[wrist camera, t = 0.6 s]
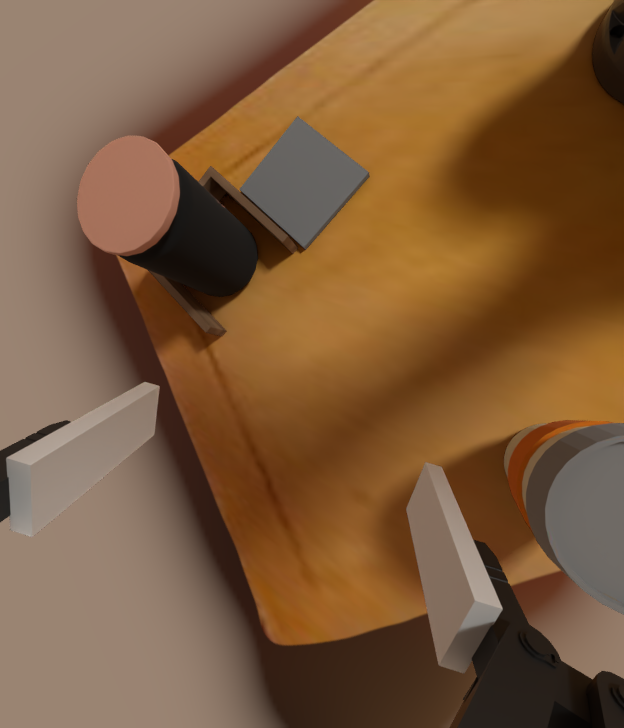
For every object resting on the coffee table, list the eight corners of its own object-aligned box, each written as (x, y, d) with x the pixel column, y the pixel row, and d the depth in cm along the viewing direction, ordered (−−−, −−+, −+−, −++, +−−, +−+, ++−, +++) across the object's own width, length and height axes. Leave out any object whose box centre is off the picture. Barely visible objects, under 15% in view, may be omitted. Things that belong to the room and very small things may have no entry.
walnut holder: (226, 182, 47) (210, 165, 43) (297, 248, 44) (288, 235, 40) (159, 268, 49) (138, 259, 46) (222, 336, 46) (205, 332, 42)
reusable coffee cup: (464, 482, 38) (504, 549, 23) (521, 385, 36) (600, 393, 22) (579, 548, 35) (708, 673, 20) (645, 445, 33) (833, 500, 19)
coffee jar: (263, 221, 45) (177, 125, 28) (259, 298, 45) (170, 251, 28) (195, 226, 48) (79, 142, 31) (191, 299, 48) (72, 256, 30)
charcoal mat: (299, 120, 44) (297, 116, 43) (369, 176, 42) (368, 172, 41) (242, 192, 46) (239, 189, 45) (305, 249, 43) (303, 247, 43)
